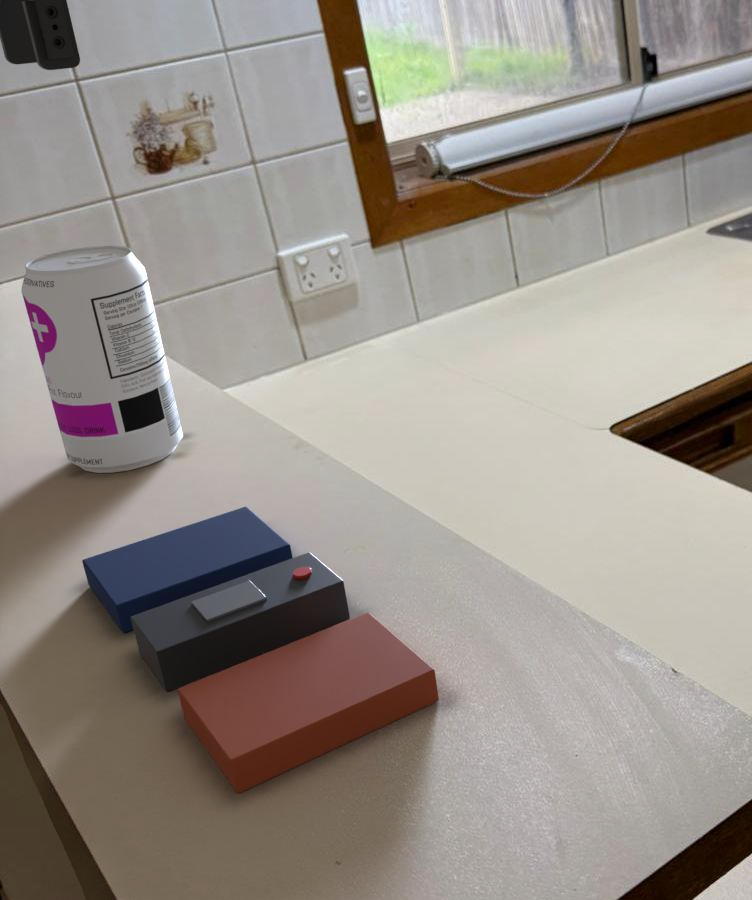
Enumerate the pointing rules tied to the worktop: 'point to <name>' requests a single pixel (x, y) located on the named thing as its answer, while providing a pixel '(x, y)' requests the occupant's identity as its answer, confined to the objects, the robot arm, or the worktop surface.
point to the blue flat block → (182, 563)
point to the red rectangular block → (306, 699)
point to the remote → (239, 620)
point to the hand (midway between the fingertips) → (43, 65)
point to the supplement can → (102, 357)
